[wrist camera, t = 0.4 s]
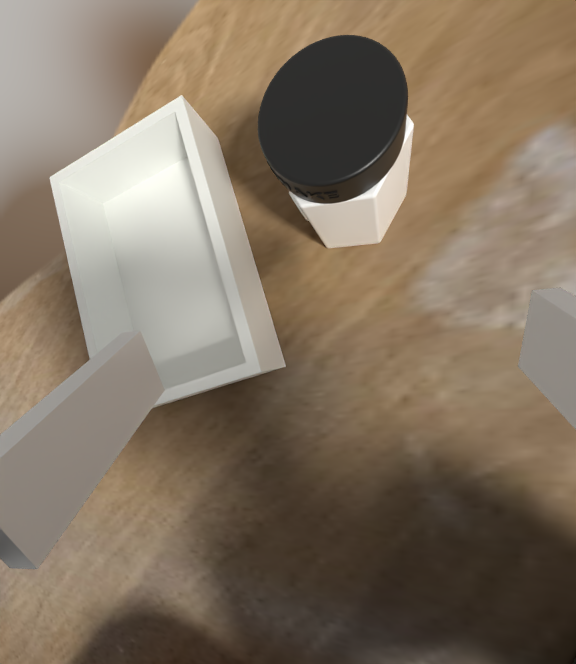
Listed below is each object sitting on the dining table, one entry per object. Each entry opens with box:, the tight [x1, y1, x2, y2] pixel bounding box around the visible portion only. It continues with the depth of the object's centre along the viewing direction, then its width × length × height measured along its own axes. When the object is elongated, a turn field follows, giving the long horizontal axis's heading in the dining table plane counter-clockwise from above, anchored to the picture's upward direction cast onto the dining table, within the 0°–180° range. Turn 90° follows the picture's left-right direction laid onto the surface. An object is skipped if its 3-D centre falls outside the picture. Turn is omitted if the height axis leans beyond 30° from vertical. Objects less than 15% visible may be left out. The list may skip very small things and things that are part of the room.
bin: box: [50, 95, 286, 408], centre depth 31 cm, size 24×16×6 cm, turn 18°
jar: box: [258, 35, 414, 248], centre depth 23 cm, size 9×8×12 cm
